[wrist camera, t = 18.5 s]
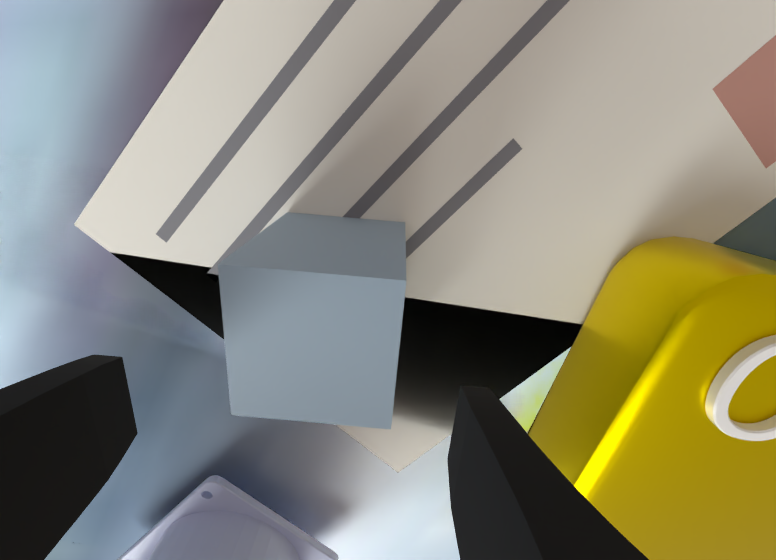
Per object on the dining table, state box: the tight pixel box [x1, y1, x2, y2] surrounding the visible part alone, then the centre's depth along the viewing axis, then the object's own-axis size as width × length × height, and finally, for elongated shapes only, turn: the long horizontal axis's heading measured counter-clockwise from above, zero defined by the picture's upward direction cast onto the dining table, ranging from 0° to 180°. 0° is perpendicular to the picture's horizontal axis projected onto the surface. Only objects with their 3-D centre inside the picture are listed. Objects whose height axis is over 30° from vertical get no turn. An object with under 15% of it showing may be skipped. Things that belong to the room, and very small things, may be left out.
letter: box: [74, 0, 776, 472], centre depth 14 cm, size 24×18×1 cm
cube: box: [218, 212, 406, 429], centre depth 13 cm, size 4×4×6 cm
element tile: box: [527, 236, 776, 560], centre depth 16 cm, size 15×15×5 cm
